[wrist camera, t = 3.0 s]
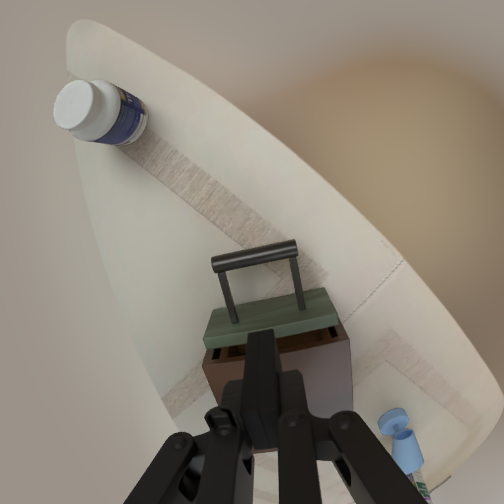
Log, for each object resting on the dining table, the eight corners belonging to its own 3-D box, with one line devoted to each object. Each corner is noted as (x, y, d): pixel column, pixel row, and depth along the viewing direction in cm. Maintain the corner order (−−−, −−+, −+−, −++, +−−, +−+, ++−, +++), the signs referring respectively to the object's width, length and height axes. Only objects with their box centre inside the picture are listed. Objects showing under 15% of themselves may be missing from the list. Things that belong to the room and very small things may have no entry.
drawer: (195, 251, 28) (179, 270, 22) (313, 225, 27) (326, 239, 21) (242, 397, 32) (239, 432, 27) (335, 380, 31) (346, 413, 26)
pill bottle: (158, 104, 25) (112, 77, 16) (135, 153, 27) (82, 147, 17) (117, 91, 25) (64, 66, 15) (96, 137, 26) (38, 128, 17)
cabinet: (214, 324, 31) (201, 365, 24) (330, 301, 30) (349, 338, 22) (244, 411, 34) (240, 454, 27) (340, 393, 33) (353, 435, 26)
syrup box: (414, 454, 37) (438, 511, 23) (390, 471, 39) (408, 527, 25) (400, 449, 37) (424, 511, 23) (374, 466, 38) (392, 528, 24)
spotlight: (406, 426, 35) (406, 400, 33) (426, 471, 25) (432, 448, 24) (377, 437, 36) (375, 412, 34) (394, 485, 26) (395, 464, 24)
